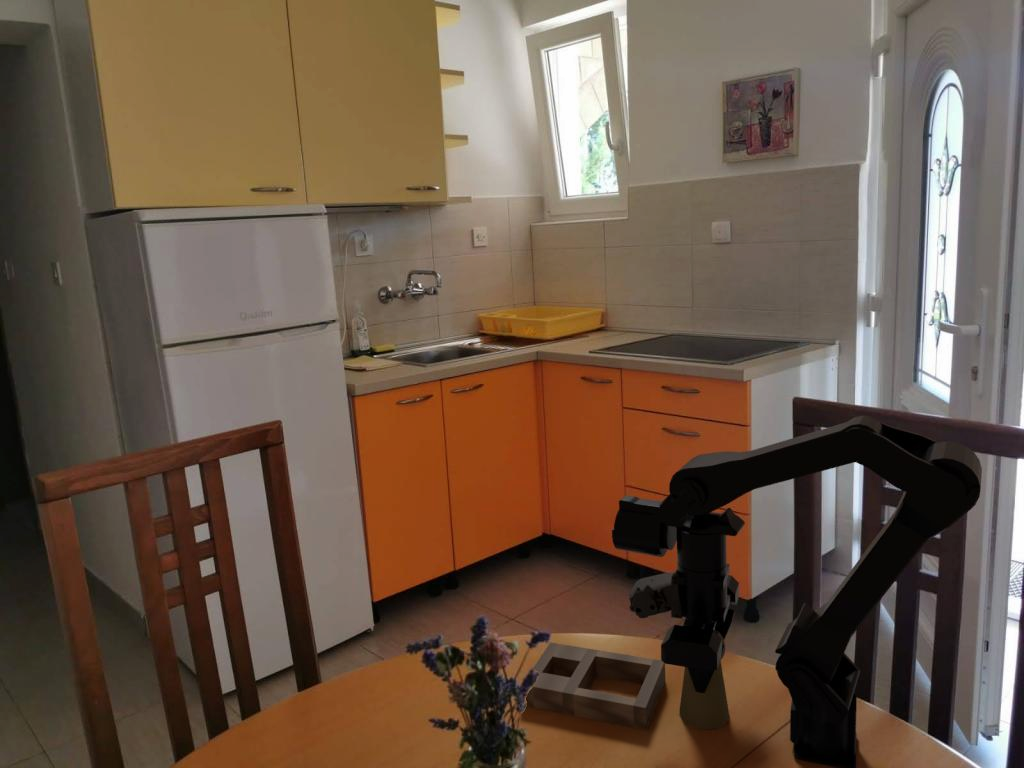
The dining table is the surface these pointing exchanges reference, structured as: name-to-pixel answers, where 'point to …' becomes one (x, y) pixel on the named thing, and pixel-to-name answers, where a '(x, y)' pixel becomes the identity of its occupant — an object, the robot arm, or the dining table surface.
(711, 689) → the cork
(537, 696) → the hole block
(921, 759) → the dining table surface
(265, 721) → the dining table surface
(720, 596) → the robot arm
